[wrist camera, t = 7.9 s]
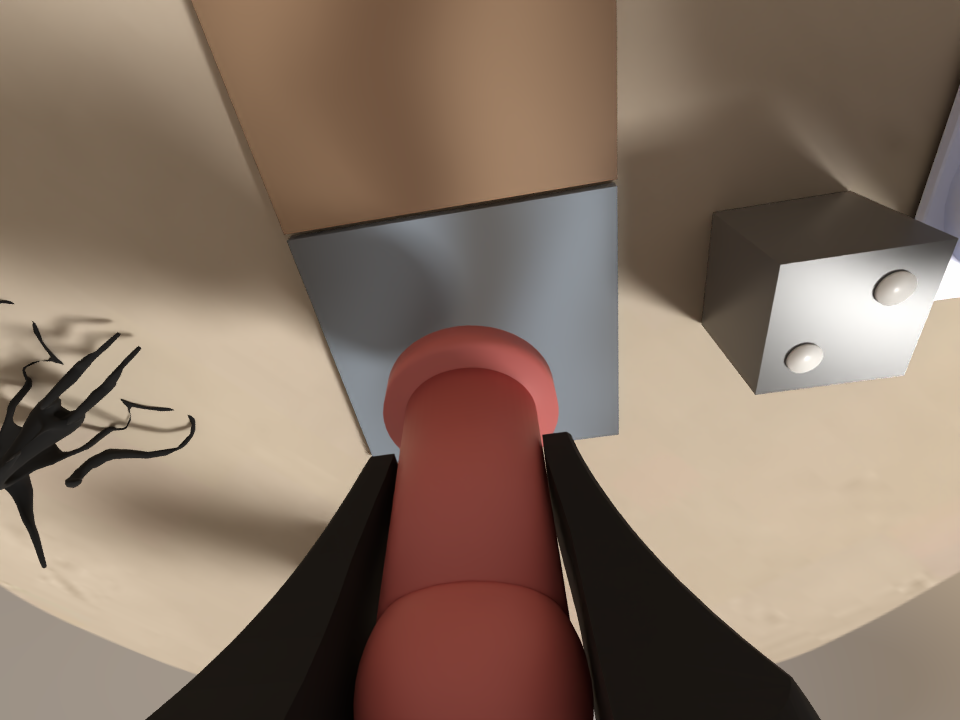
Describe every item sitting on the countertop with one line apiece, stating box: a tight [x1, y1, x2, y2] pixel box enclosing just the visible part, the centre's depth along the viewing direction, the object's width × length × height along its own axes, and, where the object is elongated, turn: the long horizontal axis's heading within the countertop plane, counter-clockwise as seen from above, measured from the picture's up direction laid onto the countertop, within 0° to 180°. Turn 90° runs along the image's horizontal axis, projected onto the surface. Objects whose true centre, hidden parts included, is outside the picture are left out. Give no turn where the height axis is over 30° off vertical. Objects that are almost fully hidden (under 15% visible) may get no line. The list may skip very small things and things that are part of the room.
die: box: [702, 191, 959, 395], centre depth 14 cm, size 4×4×4 cm
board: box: [191, 0, 619, 462], centre depth 12 cm, size 10×30×1 cm, turn 9°
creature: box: [0, 300, 195, 568], centre depth 17 cm, size 8×5×8 cm
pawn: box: [353, 325, 594, 720], centre depth 11 cm, size 5×5×10 cm
